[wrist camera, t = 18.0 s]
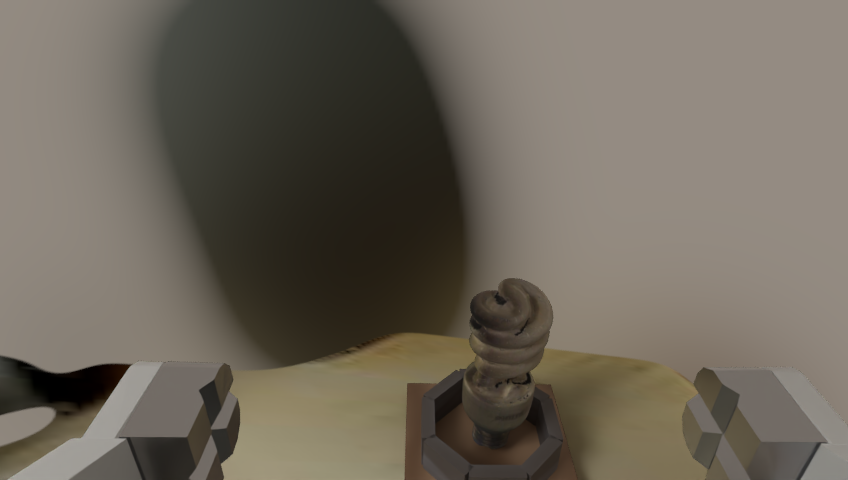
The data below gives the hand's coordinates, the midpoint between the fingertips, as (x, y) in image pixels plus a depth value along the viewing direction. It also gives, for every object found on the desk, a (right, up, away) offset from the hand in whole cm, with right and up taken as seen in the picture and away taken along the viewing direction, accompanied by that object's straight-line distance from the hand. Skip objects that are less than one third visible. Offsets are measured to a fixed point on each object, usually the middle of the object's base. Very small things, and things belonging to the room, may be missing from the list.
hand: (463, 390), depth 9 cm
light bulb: (+5, -14, +34) cm, 37 cm away
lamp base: (+4, -15, +34) cm, 38 cm away
